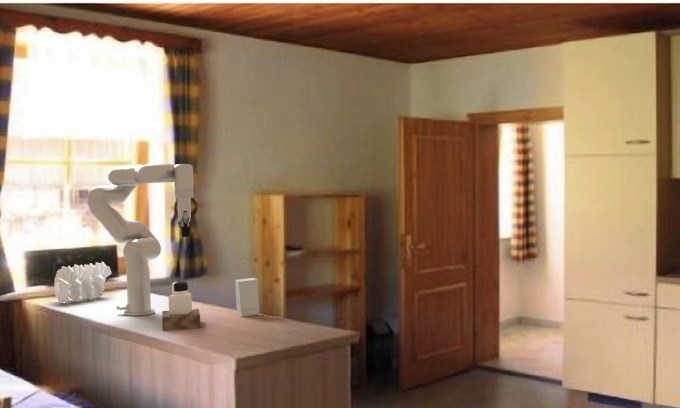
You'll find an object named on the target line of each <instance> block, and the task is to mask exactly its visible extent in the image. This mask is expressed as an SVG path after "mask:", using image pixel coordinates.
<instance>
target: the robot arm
mask: <svg viewBox="0 0 680 408" xmlns="http://www.w3.org/2000/svg"><path fill="white" fill-rule="evenodd" d="M193 168H194V167H193V165H192V164H189V163H183V164H182V163H179V164H174V163H173V164H170V163H166V164H165V163H158V164H154V163H153V164H144V165H143V164H137V165H133V164H132V165H121V166H115V167H112V168H111V169H110V170H109V172H108V174H107V179H108V181H109V183H110V185H105V184H104V185H97V186H94V187H92V188H91V189H90V190H89V192H88V193H87V199H86V200H87V205H88V209H89V211H90V212H91V214H92V215H93V217H95V218H96V219H97V220H98V222H100V223H101V225H102V226H103V227H104V229H105V230H106V231H107V232H108V233H109V235H110V236H111V237H112V238H113V240H114V241H116V242H117V243H119V244H125V245H124V247H123V250H122V253H123V258H124V263H125V270H126V273H125V274H126V292H127V293H126V295H127V296H126V297H127V299H126V301H127V302H126V303H124V304H119V305H118V304H117V305H116V310H117V311H118V310H119V311H123V310H124V311H123V315H125V316H129V317H130V316H133V317H136V316H137V317H139V316H146V315H151V314H154V313H155V312H156V310H155V309H154V308H152V307H151V306H152V305H151V304H152V302H151V278H150V277H151V276H150V274H151V273H150V272H151V271H150V268H149V265H148V263H147V261H150V260H154V259H156V258H158V257H159V256H160V254H161V252H162V246H161V244H160V241H159V240H158V239H157V238H156V236H155V235H154V234H153V233H152V232H151V230H150V229H149V228H148V226H147V225H145V224H144V223H143V222H141V221H139V220H128V219H127V220H126V219H125V218H124V217H123V215H121V213H120V212H119V211H118V210H117V209H115V208H114V207H112V205H121V204H122V203H124V202H125V201H127V200H126V199H127V198H129V197H130V195H131V194H132V192H133V191H134V189H135V188H136V187H137V186H143V185H144V184H156V183H157V184H158V183H159V184H160V183H174V198H175V199H177V222H178V223H181V226H180V228H181V229H180V230H181V237H182V238H190V236H191V232H190V231H191V228H190V222H191V218H192V215H191V214H192V199H193V198H194V197H195V196H194V194H195V193H194V169H193ZM191 198H192V199H191Z"/></svg>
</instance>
